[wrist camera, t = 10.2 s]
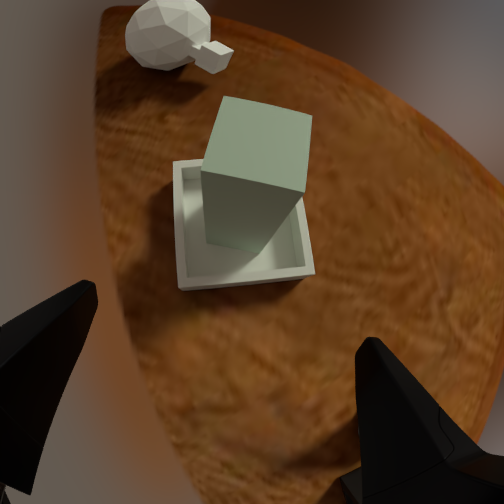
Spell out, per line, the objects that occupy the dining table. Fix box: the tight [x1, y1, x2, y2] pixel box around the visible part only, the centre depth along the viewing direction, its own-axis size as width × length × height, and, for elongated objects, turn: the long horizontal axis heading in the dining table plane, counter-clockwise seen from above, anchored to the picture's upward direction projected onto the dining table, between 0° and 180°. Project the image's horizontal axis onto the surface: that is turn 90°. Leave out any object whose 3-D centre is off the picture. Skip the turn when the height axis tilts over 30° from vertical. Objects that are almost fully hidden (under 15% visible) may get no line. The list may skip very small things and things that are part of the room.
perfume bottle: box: [125, 0, 234, 74], centre depth 21 cm, size 9×9×12 cm
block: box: [200, 96, 312, 254], centre depth 16 cm, size 4×4×11 cm
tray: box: [173, 159, 315, 291], centre depth 21 cm, size 9×9×3 cm
